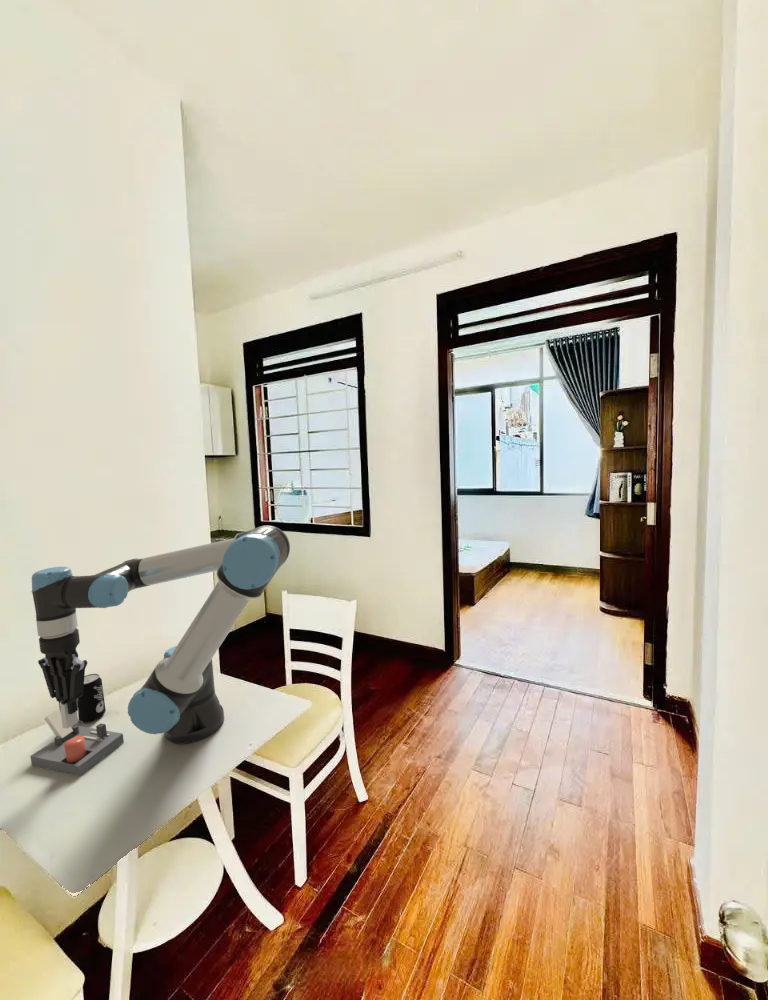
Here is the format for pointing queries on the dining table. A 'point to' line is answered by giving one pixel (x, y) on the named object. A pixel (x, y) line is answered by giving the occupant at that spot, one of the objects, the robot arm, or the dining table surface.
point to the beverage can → (91, 699)
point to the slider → (101, 730)
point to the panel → (95, 751)
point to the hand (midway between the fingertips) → (70, 724)
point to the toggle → (58, 725)
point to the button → (75, 749)
